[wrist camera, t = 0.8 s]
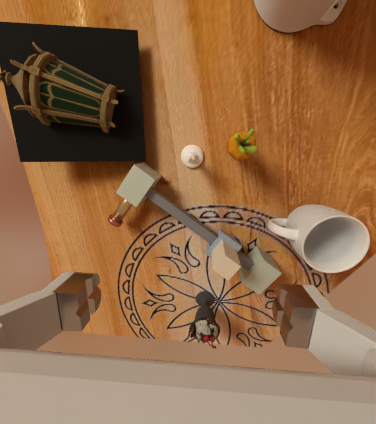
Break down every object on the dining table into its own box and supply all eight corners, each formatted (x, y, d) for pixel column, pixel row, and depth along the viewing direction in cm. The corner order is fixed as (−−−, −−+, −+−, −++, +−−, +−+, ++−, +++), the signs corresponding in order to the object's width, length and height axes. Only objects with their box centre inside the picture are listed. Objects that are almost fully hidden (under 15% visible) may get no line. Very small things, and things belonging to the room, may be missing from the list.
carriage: (221, 226, 47) (226, 248, 36) (239, 239, 47) (248, 264, 37) (205, 245, 48) (205, 271, 38) (222, 258, 49) (226, 287, 39)
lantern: (145, 162, 51) (5, 163, 46) (140, 57, 47) (-15, 44, 42) (145, 158, 38) (-52, 159, 33) (137, 11, 34) (-90, -17, 28)
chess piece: (200, 170, 47) (199, 175, 37) (179, 165, 47) (172, 169, 37) (205, 147, 45) (205, 146, 36) (183, 142, 46) (177, 140, 36)
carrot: (218, 141, 45) (224, 136, 30) (240, 129, 44) (257, 119, 30) (228, 162, 46) (238, 168, 32) (249, 151, 45) (270, 152, 31)
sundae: (222, 299, 56) (229, 350, 42) (205, 313, 58) (205, 367, 43) (204, 283, 55) (204, 330, 41) (187, 298, 57) (181, 349, 42)
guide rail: (143, 162, 47) (133, 164, 41) (271, 257, 51) (281, 273, 45) (126, 188, 49) (114, 194, 43) (251, 278, 53) (257, 296, 47)
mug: (256, 238, 50) (273, 267, 38) (265, 193, 47) (287, 208, 35) (319, 245, 50) (358, 277, 37) (333, 200, 46) (380, 219, 34)
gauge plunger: (133, 182, 46) (128, 184, 43) (145, 190, 47) (141, 193, 44) (111, 215, 49) (105, 219, 46) (123, 223, 49) (117, 228, 46)
